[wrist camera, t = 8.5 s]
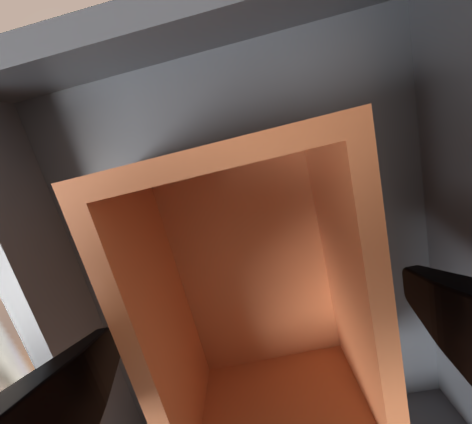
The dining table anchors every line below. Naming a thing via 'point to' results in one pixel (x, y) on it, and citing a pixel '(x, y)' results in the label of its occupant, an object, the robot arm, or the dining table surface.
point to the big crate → (230, 126)
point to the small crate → (249, 276)
